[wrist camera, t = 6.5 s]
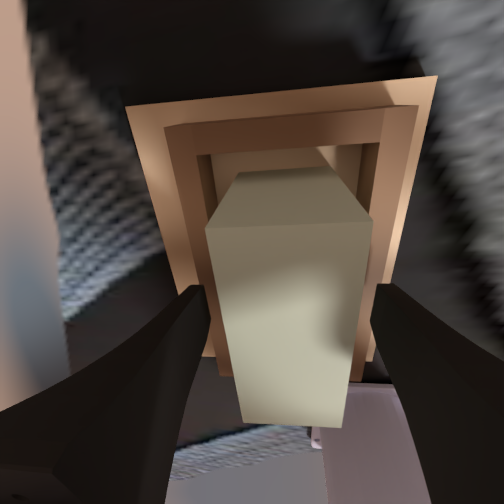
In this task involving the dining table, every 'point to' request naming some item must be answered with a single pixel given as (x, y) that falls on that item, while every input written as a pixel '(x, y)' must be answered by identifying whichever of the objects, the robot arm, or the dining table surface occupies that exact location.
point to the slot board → (282, 157)
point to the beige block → (290, 291)
